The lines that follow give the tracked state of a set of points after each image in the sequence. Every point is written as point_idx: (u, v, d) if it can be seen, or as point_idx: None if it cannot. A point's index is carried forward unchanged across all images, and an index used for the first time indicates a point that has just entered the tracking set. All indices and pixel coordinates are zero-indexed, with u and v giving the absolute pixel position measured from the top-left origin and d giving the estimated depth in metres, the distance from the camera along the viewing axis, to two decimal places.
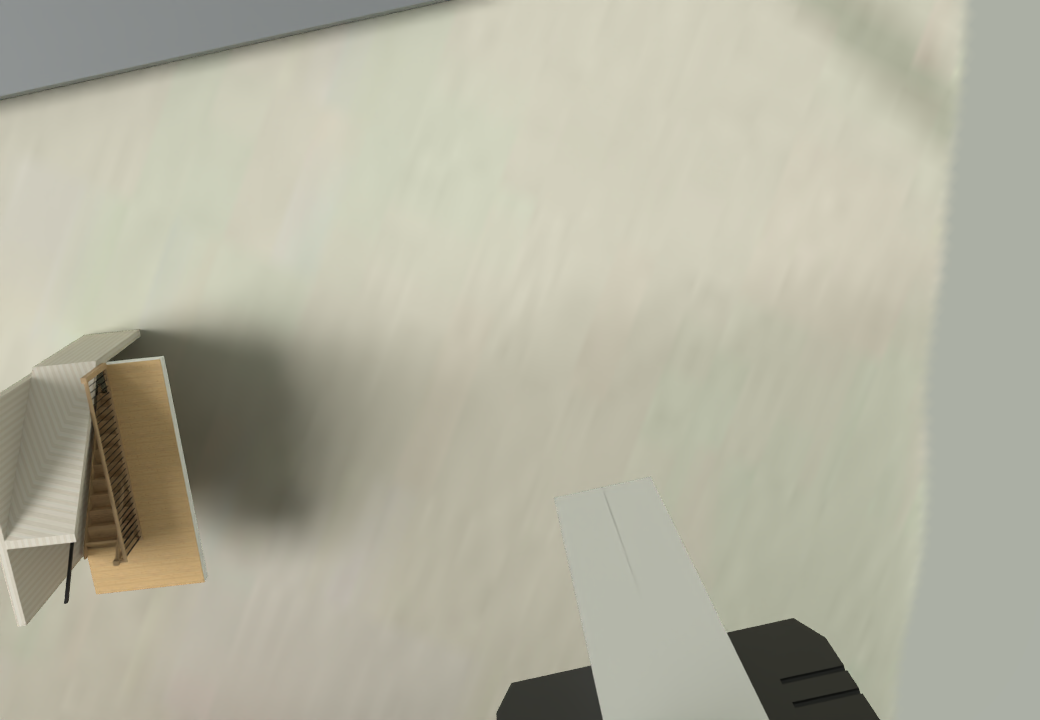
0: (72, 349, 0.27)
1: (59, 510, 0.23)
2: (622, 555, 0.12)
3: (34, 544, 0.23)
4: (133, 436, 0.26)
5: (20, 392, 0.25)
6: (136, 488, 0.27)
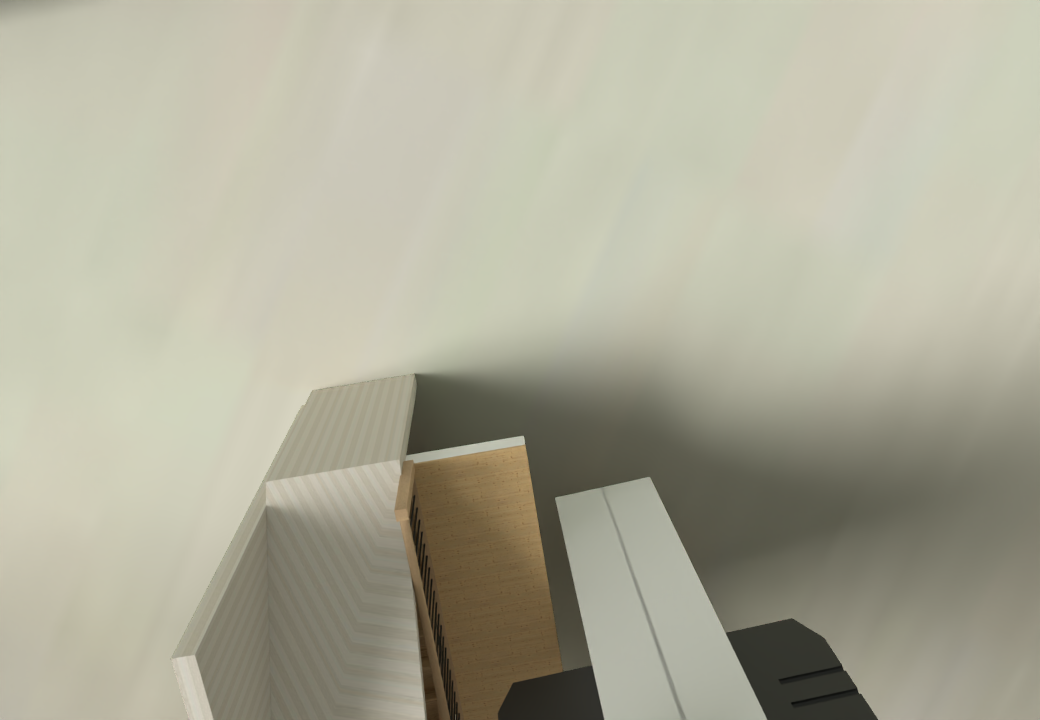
0: (317, 429, 0.13)
1: None
2: (621, 555, 0.12)
3: None
4: (465, 604, 0.13)
5: (256, 547, 0.11)
6: (470, 706, 0.13)
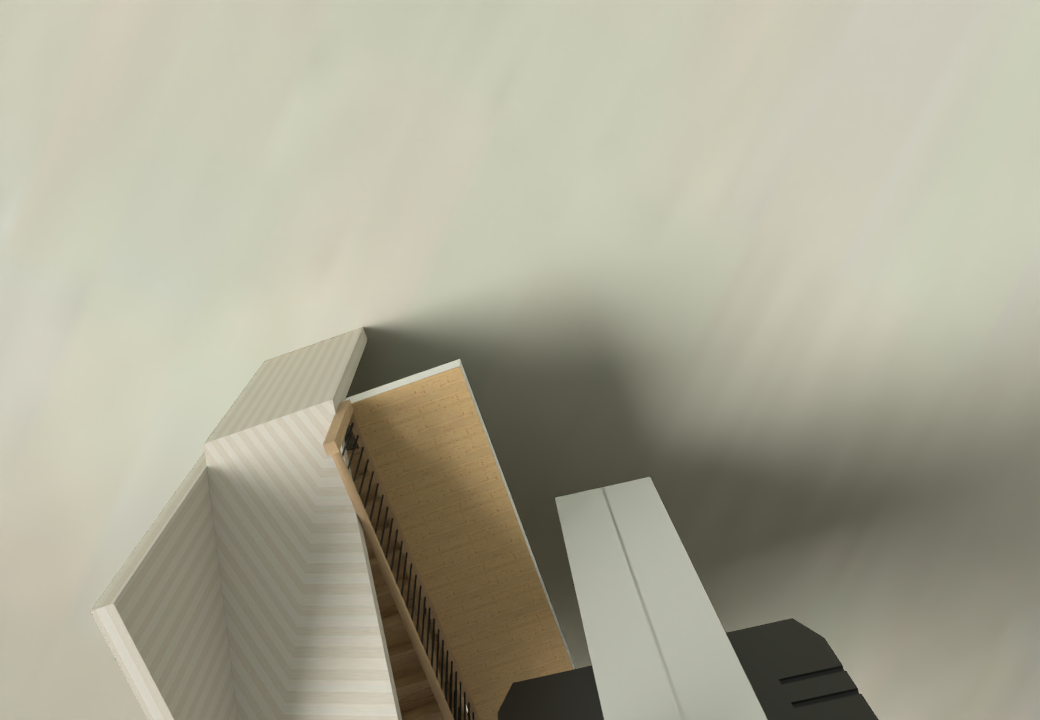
0: (261, 391, 0.13)
1: None
2: (621, 555, 0.12)
3: None
4: (431, 539, 0.12)
5: (196, 505, 0.11)
6: (457, 642, 0.13)
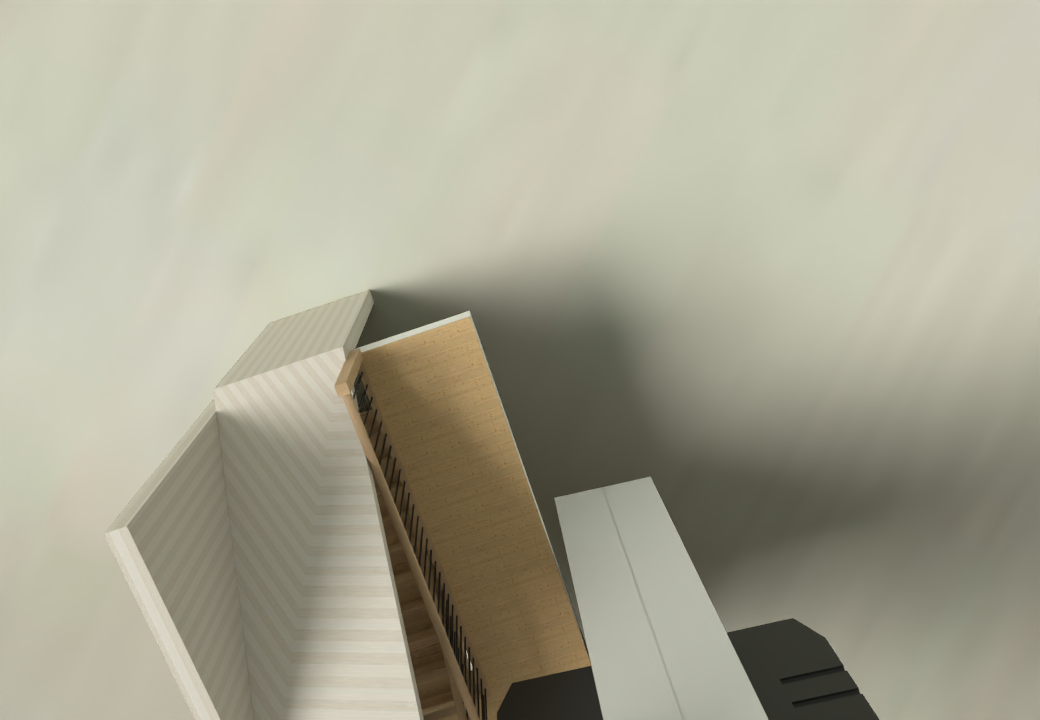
0: (269, 344, 0.13)
1: (373, 706, 0.09)
2: (622, 555, 0.12)
3: None
4: (438, 491, 0.12)
5: (205, 447, 0.11)
6: (462, 596, 0.13)
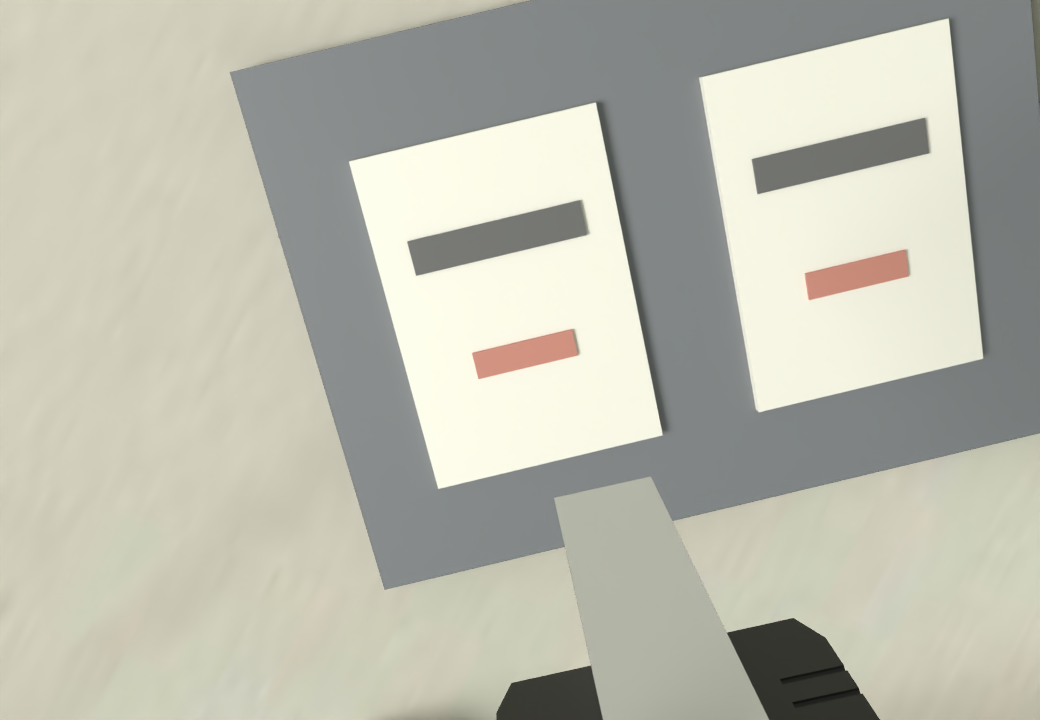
0: None
1: None
2: (622, 555, 0.12)
3: None
4: None
5: None
6: None
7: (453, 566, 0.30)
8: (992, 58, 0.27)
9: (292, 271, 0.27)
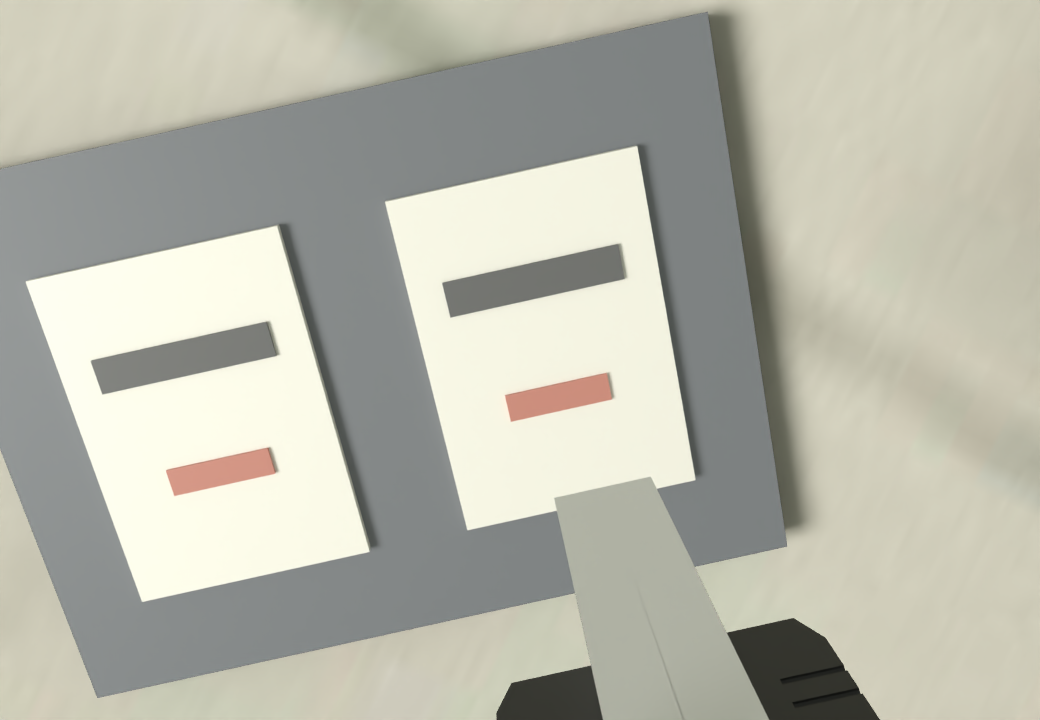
0: None
1: None
2: (622, 555, 0.12)
3: None
4: None
5: None
6: None
7: (166, 675, 0.30)
8: (688, 184, 0.27)
9: None
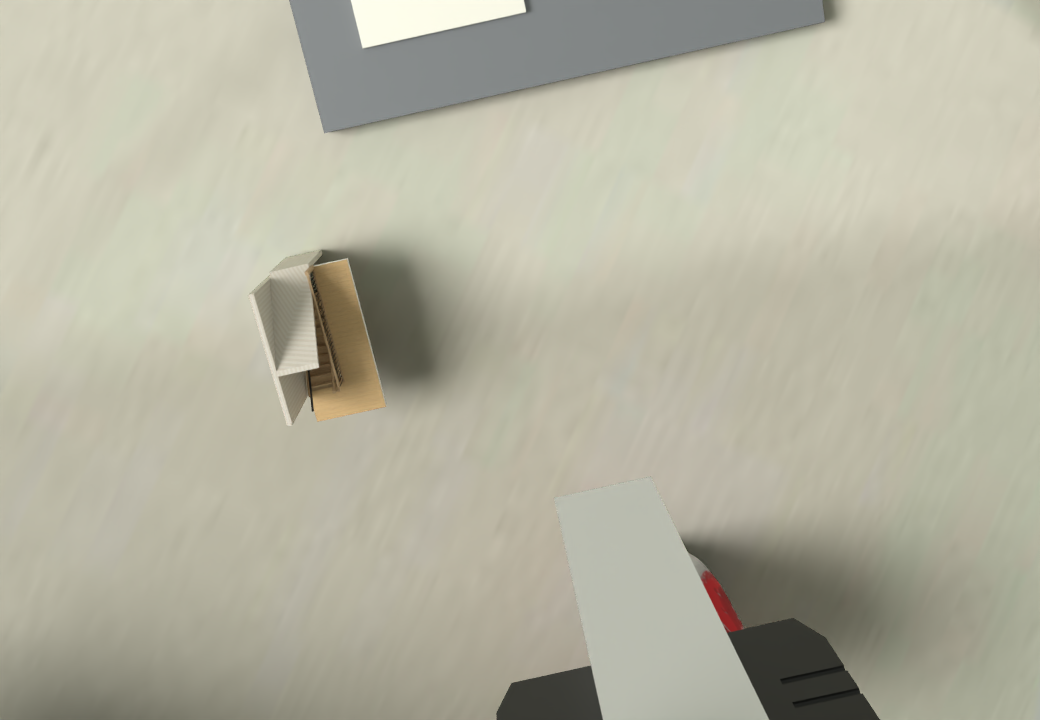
0: (286, 263, 0.42)
1: (305, 350, 0.38)
2: (622, 555, 0.12)
3: (294, 371, 0.38)
4: (333, 312, 0.41)
5: (267, 286, 0.39)
6: (338, 347, 0.41)
7: (374, 115, 0.41)
8: None
9: None
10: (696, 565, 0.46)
